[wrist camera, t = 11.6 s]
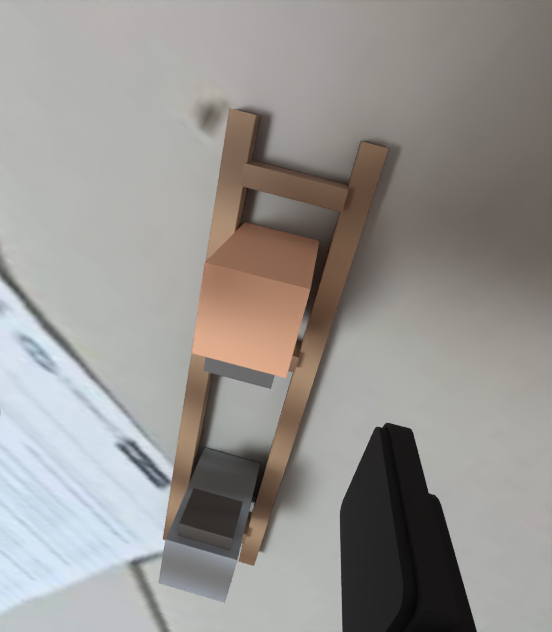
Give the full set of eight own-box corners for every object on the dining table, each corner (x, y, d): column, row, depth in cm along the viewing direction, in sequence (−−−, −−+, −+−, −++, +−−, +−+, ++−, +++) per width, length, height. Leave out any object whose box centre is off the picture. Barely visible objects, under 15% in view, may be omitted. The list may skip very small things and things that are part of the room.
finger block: (244, 222, 21) (204, 262, 15) (319, 240, 21) (310, 289, 15) (229, 306, 24) (189, 373, 17) (297, 324, 23) (281, 397, 17)
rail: (235, 109, 19) (184, 101, 13) (386, 147, 19) (408, 158, 13) (168, 525, 32) (127, 622, 26) (256, 550, 32) (236, 654, 26)
